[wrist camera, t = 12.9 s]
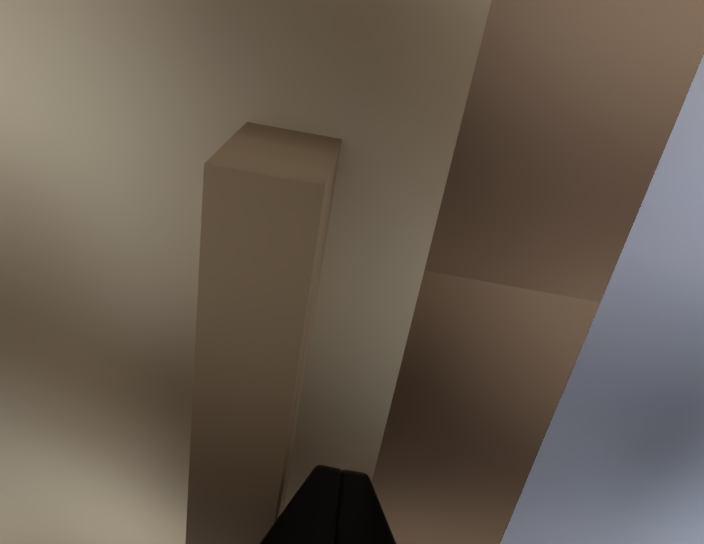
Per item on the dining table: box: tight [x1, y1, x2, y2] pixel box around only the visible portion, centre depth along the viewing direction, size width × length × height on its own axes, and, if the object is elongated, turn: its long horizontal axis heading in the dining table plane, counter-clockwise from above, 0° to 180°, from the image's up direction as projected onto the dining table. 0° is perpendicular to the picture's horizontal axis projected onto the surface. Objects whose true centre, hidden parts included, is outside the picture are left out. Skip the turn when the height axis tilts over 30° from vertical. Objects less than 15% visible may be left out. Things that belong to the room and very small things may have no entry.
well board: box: [372, 0, 704, 544], centre depth 11 cm, size 16×19×2 cm
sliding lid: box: [0, 0, 491, 544], centre depth 9 cm, size 14×9×3 cm, turn 171°
